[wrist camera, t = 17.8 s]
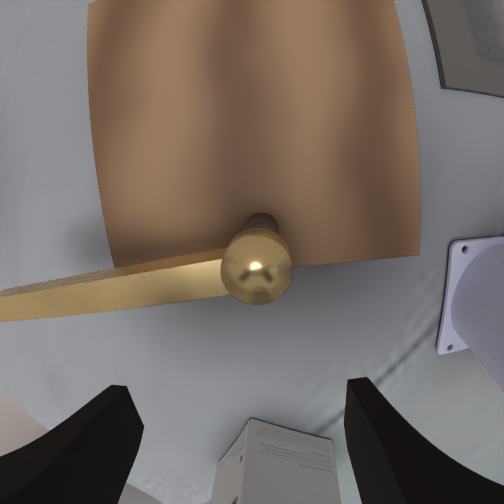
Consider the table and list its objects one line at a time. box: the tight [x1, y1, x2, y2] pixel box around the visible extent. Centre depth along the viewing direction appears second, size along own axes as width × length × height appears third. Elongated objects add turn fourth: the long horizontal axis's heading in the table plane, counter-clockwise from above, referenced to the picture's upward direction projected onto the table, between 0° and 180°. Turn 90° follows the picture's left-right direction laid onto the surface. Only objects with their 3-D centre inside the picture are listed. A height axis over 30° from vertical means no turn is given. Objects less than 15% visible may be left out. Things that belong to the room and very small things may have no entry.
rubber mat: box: [422, 0, 504, 98], centre depth 12 cm, size 10×10×1 cm
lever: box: [0, 228, 292, 322], centre depth 11 cm, size 14×2×1 cm, turn 101°
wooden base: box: [87, 0, 421, 268], centre depth 12 cm, size 16×16×6 cm
